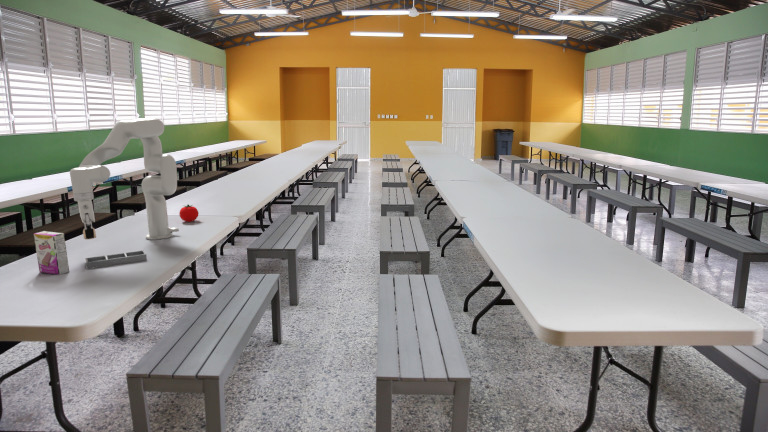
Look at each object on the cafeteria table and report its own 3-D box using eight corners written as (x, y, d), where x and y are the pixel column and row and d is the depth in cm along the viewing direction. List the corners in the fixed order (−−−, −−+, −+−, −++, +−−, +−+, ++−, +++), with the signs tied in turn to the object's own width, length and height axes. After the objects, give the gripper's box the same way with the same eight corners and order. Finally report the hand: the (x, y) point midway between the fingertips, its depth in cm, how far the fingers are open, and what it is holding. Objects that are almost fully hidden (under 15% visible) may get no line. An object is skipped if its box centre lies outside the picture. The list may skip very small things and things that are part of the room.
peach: (95, 235, 236) (94, 225, 235) (96, 238, 232) (94, 227, 231) (83, 237, 234) (81, 226, 232) (84, 239, 230) (82, 228, 228)
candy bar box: (38, 272, 213) (32, 233, 210) (49, 269, 218) (44, 230, 214) (59, 275, 209) (53, 235, 206) (70, 271, 214) (64, 232, 211)
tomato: (195, 223, 301) (193, 206, 299) (177, 223, 301) (175, 206, 299) (201, 219, 311) (200, 203, 309) (184, 219, 311) (182, 203, 309)
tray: (144, 255, 236) (143, 250, 235) (146, 260, 229) (146, 254, 229) (86, 264, 224) (85, 258, 224) (87, 268, 218) (86, 262, 217)
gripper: (94, 198, 223) (100, 239, 227) (92, 192, 237) (98, 231, 242) (74, 200, 220) (81, 242, 224) (73, 194, 234) (79, 233, 238)
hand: (89, 236), depth 233 cm, fingers closed on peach, 4 cm apart
